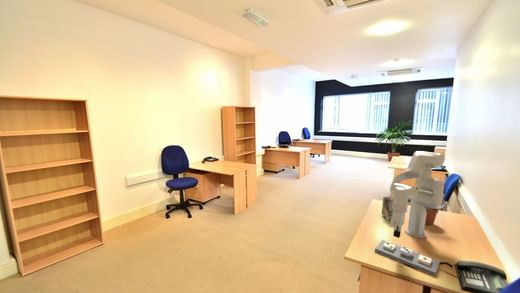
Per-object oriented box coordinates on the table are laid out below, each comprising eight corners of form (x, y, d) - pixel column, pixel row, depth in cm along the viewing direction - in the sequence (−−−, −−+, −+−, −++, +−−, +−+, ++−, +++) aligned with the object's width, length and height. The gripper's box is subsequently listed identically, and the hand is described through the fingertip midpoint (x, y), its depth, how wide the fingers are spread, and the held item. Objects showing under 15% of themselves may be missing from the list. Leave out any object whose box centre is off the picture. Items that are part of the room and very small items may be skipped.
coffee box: (395, 219, 182) (397, 200, 180) (387, 219, 182) (389, 201, 179) (388, 214, 191) (389, 196, 189) (381, 214, 191) (382, 196, 188)
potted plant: (417, 216, 189) (422, 176, 184) (439, 223, 177) (445, 181, 172) (409, 220, 181) (414, 179, 176) (431, 228, 168) (437, 184, 163)
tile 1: (419, 260, 130) (419, 254, 129) (431, 264, 126) (431, 258, 126) (417, 264, 126) (417, 258, 126) (429, 269, 122) (430, 263, 122)
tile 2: (385, 246, 143) (385, 241, 142) (395, 250, 139) (395, 245, 138) (382, 250, 139) (383, 245, 138) (392, 254, 135) (393, 248, 134)
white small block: (401, 251, 136) (402, 245, 136) (412, 255, 132) (413, 249, 132) (399, 255, 132) (399, 249, 132) (410, 259, 128) (411, 253, 128)
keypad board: (382, 242, 148) (382, 239, 148) (439, 264, 127) (439, 261, 127) (374, 251, 138) (375, 248, 138) (435, 276, 117) (435, 272, 117)
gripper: (396, 202, 140) (393, 230, 143) (388, 209, 130) (385, 238, 133) (410, 206, 135) (407, 234, 137) (403, 213, 125) (400, 243, 127)
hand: (396, 236), depth 135 cm, fingers closed
